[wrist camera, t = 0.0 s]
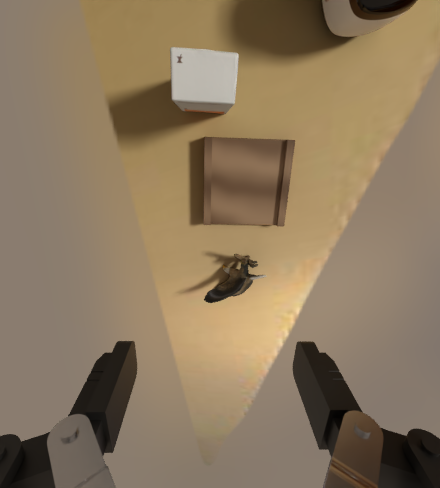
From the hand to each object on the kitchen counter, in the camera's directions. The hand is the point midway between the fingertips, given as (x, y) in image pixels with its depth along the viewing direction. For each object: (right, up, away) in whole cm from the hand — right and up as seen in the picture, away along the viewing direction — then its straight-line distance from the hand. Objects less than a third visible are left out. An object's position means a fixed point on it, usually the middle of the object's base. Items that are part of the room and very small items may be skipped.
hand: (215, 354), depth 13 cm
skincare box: (-2, +25, +22) cm, 33 cm away
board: (+4, +15, +26) cm, 30 cm away
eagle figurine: (+2, +1, +32) cm, 32 cm away
